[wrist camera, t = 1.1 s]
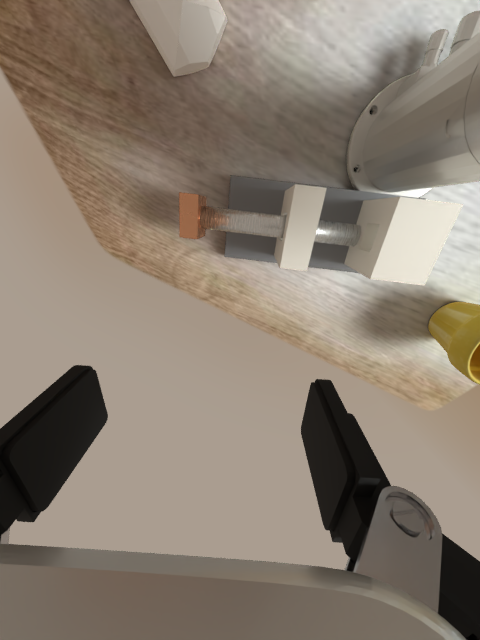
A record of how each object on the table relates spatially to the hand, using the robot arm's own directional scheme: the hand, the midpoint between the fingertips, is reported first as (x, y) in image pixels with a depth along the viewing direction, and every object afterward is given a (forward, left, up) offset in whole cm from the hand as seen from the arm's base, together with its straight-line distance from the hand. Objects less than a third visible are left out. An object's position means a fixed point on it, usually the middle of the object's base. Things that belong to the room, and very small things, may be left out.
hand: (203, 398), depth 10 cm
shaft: (-6, +3, -24) cm, 25 cm away
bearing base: (-6, +10, -27) cm, 30 cm away
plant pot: (+5, +35, -28) cm, 45 cm away
